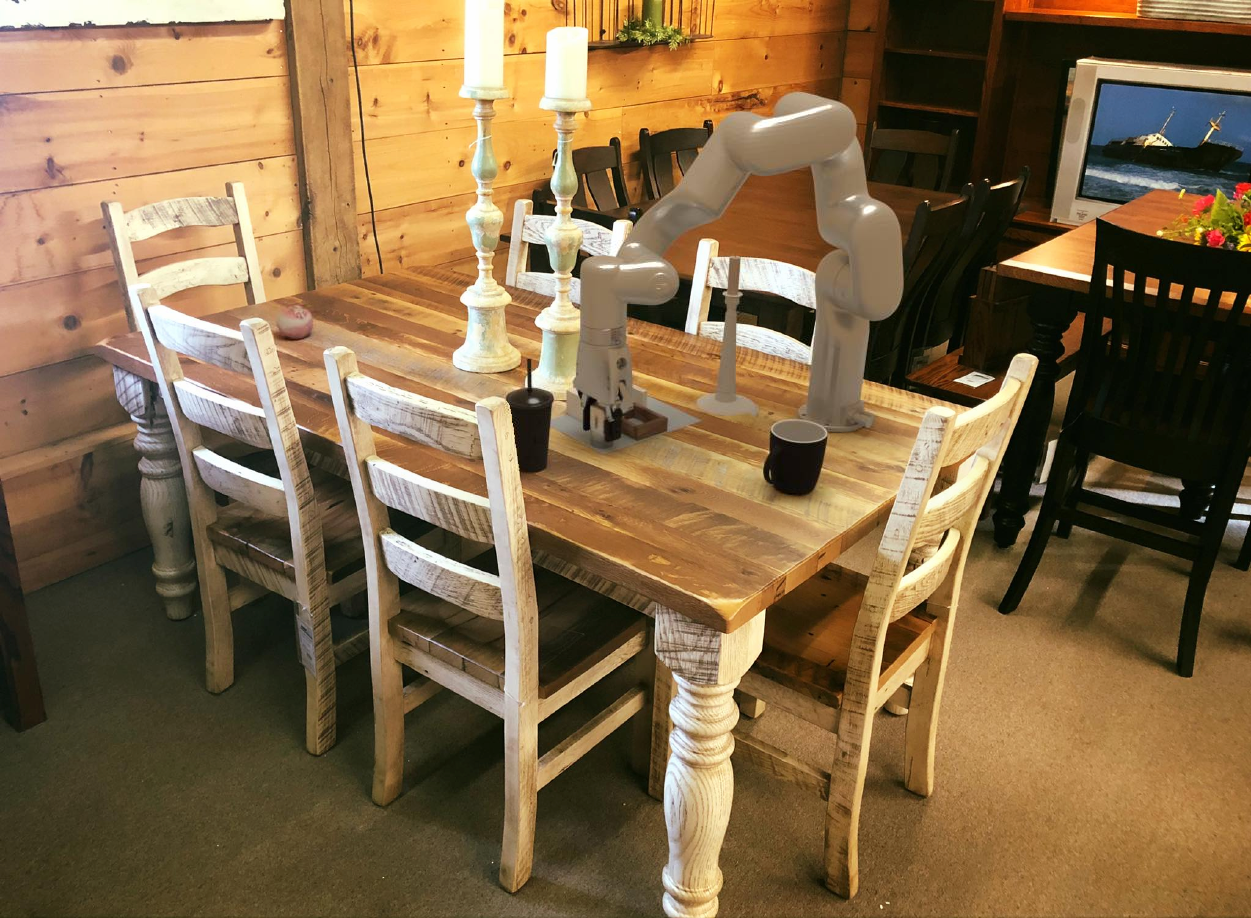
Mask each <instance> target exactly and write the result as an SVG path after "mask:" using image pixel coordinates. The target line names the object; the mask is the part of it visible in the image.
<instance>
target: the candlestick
mask: <svg viewBox="0 0 1251 918" xmlns="http://www.w3.org/2000/svg"><path fill="white" fill-rule="evenodd" d="M728 258H729V259H728V261H729V262H728V273H727V274H728V275H727V289H726V291H723V292H722V295H723V296H724V297H725V299H724V303H725V305H726V312H725V313H724V314H725V317H724V318H725V319H724V327H723V335H722V345H721V351H720V359H719V368H718V377H717V384H716V391H715V392H714V393H708V394H704V395H702V396H700V397H699V398H698V399H696V405H697V406H698V408H699V409H701V410H702V411H704V412H706V413H710V414H714V415H720V416H738V415H744V414H746V413H747V414H749V415H752V416H754V417H756V418H758V417H759V414H760V410H759V409H760V408H759V406H758V405H757V403H755V402H754V401H752V400H751V399H749V398H748V397H745V396H743V395H740V394H737V393H736V389H737V388H736V377H737V376H736V374H737V373H736V372H737V369H736V366H737V318H738V313H737V307H738V305H739V304H740V302H741V301H740V298H741V297H742V296H743V293H742V292H741V291H739V288H740V287H739V285H740V275H741V274H740V272H741V262H742V261H741V260H742V259H741V256H739V255H736V253H735V255H731V256H729V257H728Z"/></svg>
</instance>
